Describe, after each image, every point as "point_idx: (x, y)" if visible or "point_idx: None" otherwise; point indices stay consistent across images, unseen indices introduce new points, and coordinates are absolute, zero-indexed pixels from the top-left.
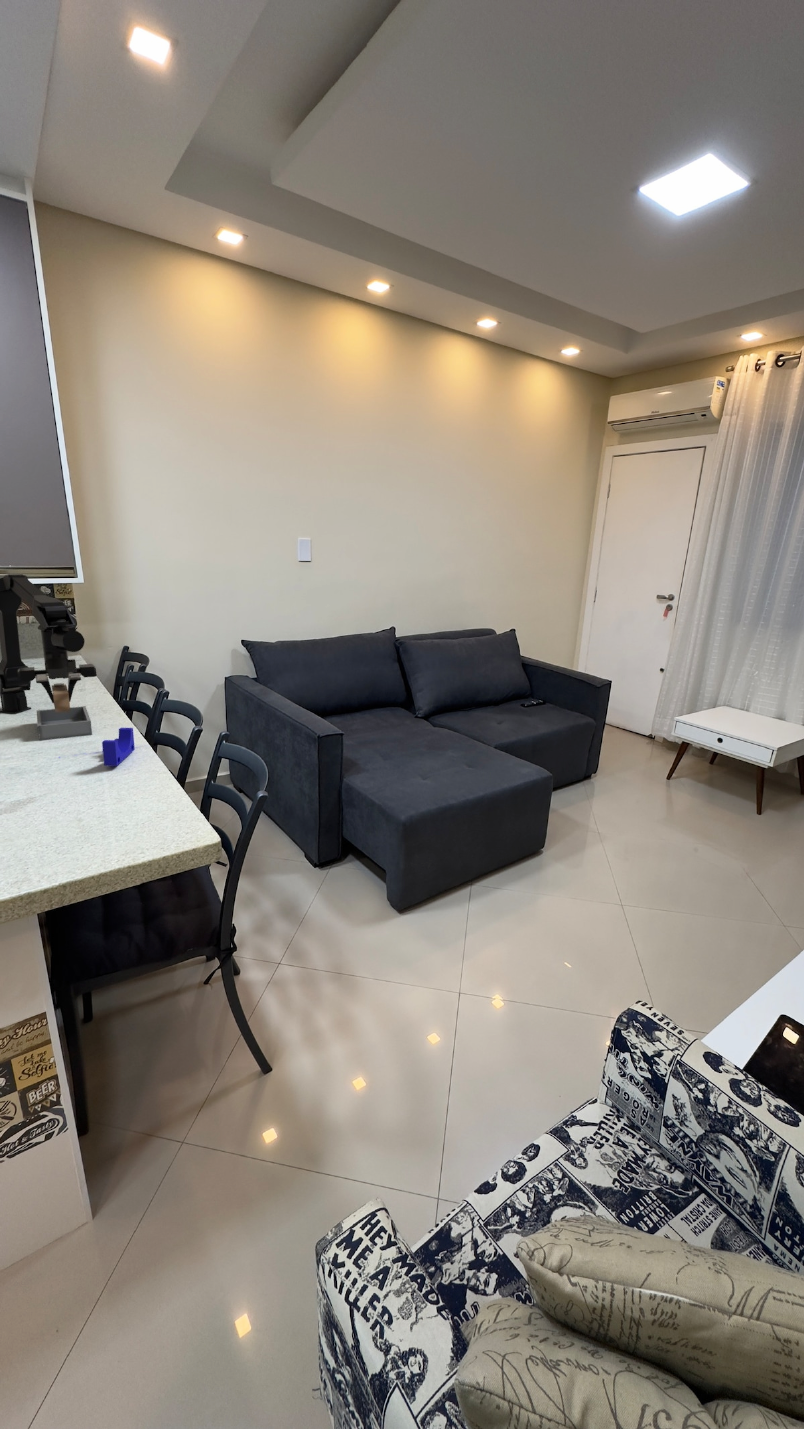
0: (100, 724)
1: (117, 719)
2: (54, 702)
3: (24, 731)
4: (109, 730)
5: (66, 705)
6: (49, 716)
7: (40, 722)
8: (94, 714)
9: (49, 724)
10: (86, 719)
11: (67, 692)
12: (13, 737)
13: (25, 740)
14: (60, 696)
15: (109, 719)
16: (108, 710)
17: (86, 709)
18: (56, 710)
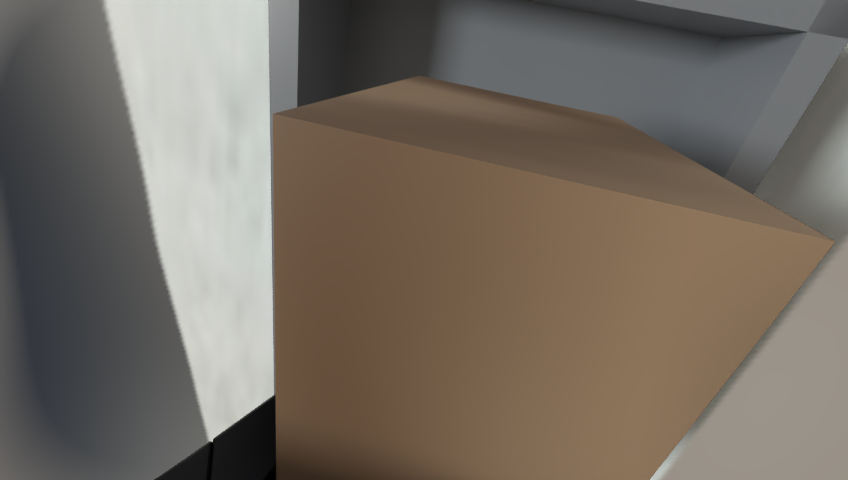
0: (258, 202)
1: (167, 246)
2: (675, 156)
3: None
4: (210, 3)
5: (450, 94)
6: None
7: (733, 168)
8: (272, 393)
9: (712, 7)
10: (306, 84)
11: (294, 269)
12: (837, 239)
13: (833, 97)
14: (550, 158)
15: (207, 272)
16: (210, 410)
17: (274, 340)
18: (606, 117)
